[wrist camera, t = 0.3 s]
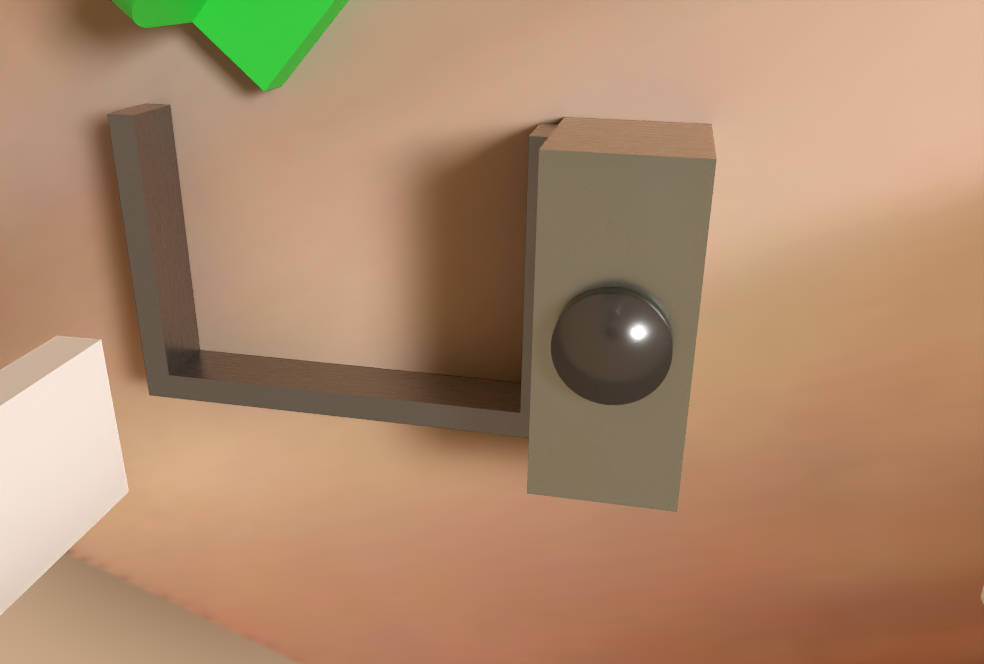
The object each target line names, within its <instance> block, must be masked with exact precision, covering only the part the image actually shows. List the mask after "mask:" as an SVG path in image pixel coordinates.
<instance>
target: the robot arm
mask: <svg viewBox="0 0 984 664" xmlns="http://www.w3.org/2000/svg"><path fill="white" fill-rule="evenodd" d="M128 492H129V490H128V485H127V479H126V474H125V468H124V463H123V457H122V452H121V446H120V441H119V435H118V430H117V424H116V419H115V413H114V408H113V402H112V397H111V391H110V386H109V380H108V375H107V370H106V364H105V359H104V353H103V348H102V342H101V339H90V338H79V337H68V336H55V337H53V338H52V339H50V340H48V341H47V342H45V343H43V344H42V345H40V346H39V347H37V348H35V349H34V350H32V351H30V352H29V353H27V354H25V355H24V356H22V357H20V358H19V359H17V360H15V361H14V362H12V363H10V364H9V365H7V366H6V367H4V368H2V369H1V370H0V615H1V614H2V613H3V612H4V611H5V610H6V609H7V608H8V607H10V606H11V605H12V604H13V602H15V601H16V600H17V599H18V598H19V597H20V596H21V595H22V594H23V593H24V592H25V591H26V590H27V589H28V588H29V587H30V586H31V585H32V584H33V583H34V582H35V581H36V580H38V578H40V577H41V576H42V575H43V574H44V573H45V572H46V571H47V570H48V569H49V568H50V567H51V566H52V565H53V564H54V563H55V562H56V561H57V560H58V559H59V558H60V557H61V556H62V555H63V554H65V553H66V552H67V551H68V550H69V549H70V548H71V547H72V546H73V545H74V544H75V543H76V542H77V541H78V540H79V539H80V538H81V537H82V536H83V535H84V534H85V533H86V532H87V531H88V530H89V529H90V528H92V527H93V526H94V525H95V524H96V523H97V522H98V521H99V520H100V519H101V518H102V517H103V516H104V515H105V514H106V513H107V512H108V511H109V510H110V509H111V508H112V507H113V506H114V505H115V504H116V503H117V502H119V501H120V500H121V499H122V498H123V497H124V496H125V495H126V494H127V493H128ZM981 599H982V602H983V604H984V586H983V590H982V594H981Z"/></svg>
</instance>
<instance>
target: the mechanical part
mask: <svg viewBox="0 0 984 664" xmlns="http://www.w3.org/2000/svg"><path fill="white" fill-rule="evenodd" d="M111 1H112V2H114V3H115V4H116V5H117V6H118V7H119V8H120V9H121V10H122V11H123V12H124V13H125V14H126V15H127V16H128V17H129V18H130V19H131V20H132V21H134V22H135V23H136V24H137V25H138V26H140V27H143V28H151V27H159V26H167V25H175V24H183V23H191V22H192V23H193V24H194V25H195V26H196V27H198V28H199V29H200V30H201V31H202V32H203V33H204V34H205V35H206V36H207V37H208V38H209V39H210V40H211V41H212V42H213V43H214V44H215V45H216V46H217V47H218V48H219V49H220V50H221V51H222V52H224V53H225V54H226V55H227V56H228V57H229V58H230V59H231V60H232V61H233V62H234V63H235V64H236V65H237V66H238V67H239V68H240V69H241V70H242V71H243V72H244V73H245V74H246V75H247V76H248V77H250V78H251V79H252V80H253V81H254V82H255V83H256V84H257V85H258V86H259V87H260V88H261V89H262V90H263V91H268V90H271V89H274V88H277V87H281V86H282V85H283V84H284V83H285V81H286V80H287V79H288V77H289V76H290V75H291V74H292V72H293V71H294V70H295V68H296V67H297V66H298V65H299V63H300V62H301V61H302V59H303V58H304V57H305V56H306V54H307V53H308V52H309V50H310V49H311V48H312V47H313V45H314V44H315V43H316V42H317V40H318V39H319V38H320V36H321V35H322V34H323V33H324V31H325V30H326V29H327V27H328V26H329V25H330V24H331V22H332V21H333V20H334V18H335V17H336V16H337V15H338V13H339V12H340V11H341V9H342V8H343V7H344V6H345V4H346V3H347V2H348V1H349V0H111Z"/></svg>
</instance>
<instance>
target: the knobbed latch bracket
mask: <svg viewBox="0 0 984 664" xmlns="http://www.w3.org/2000/svg"><path fill="white" fill-rule="evenodd" d="M107 115H108V121H109V128H110V135H111V141H112V148H113V155H114V162H115V168H116V175H117V182H118V188H119V195H120V202H121V209H122V215H123V222H124V229H125V235H126V242H127V249H128V255H129V262H130V269H131V276H132V282H133V289H134V296H135V302H136V309H137V316H138V323H139V329H140V336H141V343H142V349H143V356H144V363H145V369H146V376H147V383H148V390H149V395H153V396H162V397H170V398H179V399H188V400H197V401H206V402H215V403H224V404H233V405H242V406H251V407H259V408H268V409H277V410H286V411H295V412H304V413H313V414H322V415H331V416H340V417H349V418H357V419H366V420H375V421H384V422H393V423H402V424H411V425H420V426H429V427H438V428H446V429H455V430H464V431H473V432H482V433H491V434H500V435H509V436H518V437H527V438H529V452H528V480H527V493H529V494H537V495H545V496H553V497H561V498H569V499H577V500H585V501H593V502H601V503H610V504H618V505H626V506H634V507H642V508H650V509H658V510H666V511H674V512H677V505H678V496H679V487H680V479H681V470H682V461H683V452H684V443H685V434H686V425H687V416H688V407H689V398H690V390H691V381H692V372H693V363H694V354H695V345H696V336H697V327H698V318H699V309H700V301H701V292H702V283H703V274H704V265H705V256H706V247H707V238H708V229H709V220H710V212H711V203H712V194H713V185H714V176H715V167H716V153H715V146H714V139H713V132H712V125H711V124H698V123H677V122H656V121H635V120H615V119H594V118H573V117H564V118H563V119H562V121H561V122H560V123H559V124H547V123H540V124H539V125H538V126H537V127H536V129H535V130H534V131H533V132H532V133H531V134H530V135H529V150H528V182H527V215H526V248H525V280H524V313H523V345H522V378H521V383H517V382H507V381H497V380H488V379H478V378H468V377H458V376H448V375H438V374H429V373H419V372H409V371H399V370H389V369H379V368H369V367H360V366H350V365H340V364H330V363H320V362H310V361H300V360H291V359H281V358H271V357H261V356H251V355H241V354H231V353H222V352H212V351H202V350H200V347H199V338H198V330H197V322H196V314H195V306H194V298H193V289H192V281H191V273H190V265H189V257H188V248H187V240H186V232H185V224H184V216H183V207H182V199H181V191H180V183H179V175H178V166H177V158H176V150H175V142H174V134H173V125H172V117H171V109H170V105H162V104H143V105H139V106H135V107H132V108H128V109H124V110H121V111H117V112H113V113H109V114H107Z"/></svg>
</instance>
